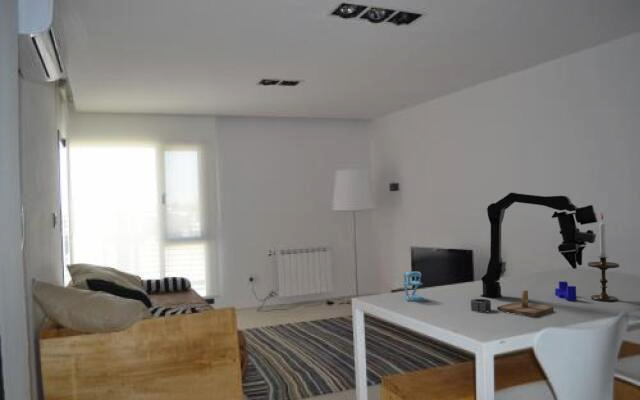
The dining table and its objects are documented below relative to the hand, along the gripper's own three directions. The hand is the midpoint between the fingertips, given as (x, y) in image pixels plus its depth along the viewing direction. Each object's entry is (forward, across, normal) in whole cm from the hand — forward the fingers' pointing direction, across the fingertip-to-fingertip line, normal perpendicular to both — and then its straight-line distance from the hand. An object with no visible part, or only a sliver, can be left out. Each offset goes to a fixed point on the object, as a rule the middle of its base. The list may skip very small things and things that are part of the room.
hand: (577, 266), depth 185 cm
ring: (+8, -29, +29) cm, 42 cm away
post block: (+11, -22, +16) cm, 29 cm away
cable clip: (+14, +10, +10) cm, 19 cm away
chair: (+3, -25, +60) cm, 65 cm away
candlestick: (+16, +15, -3) cm, 22 cm away
